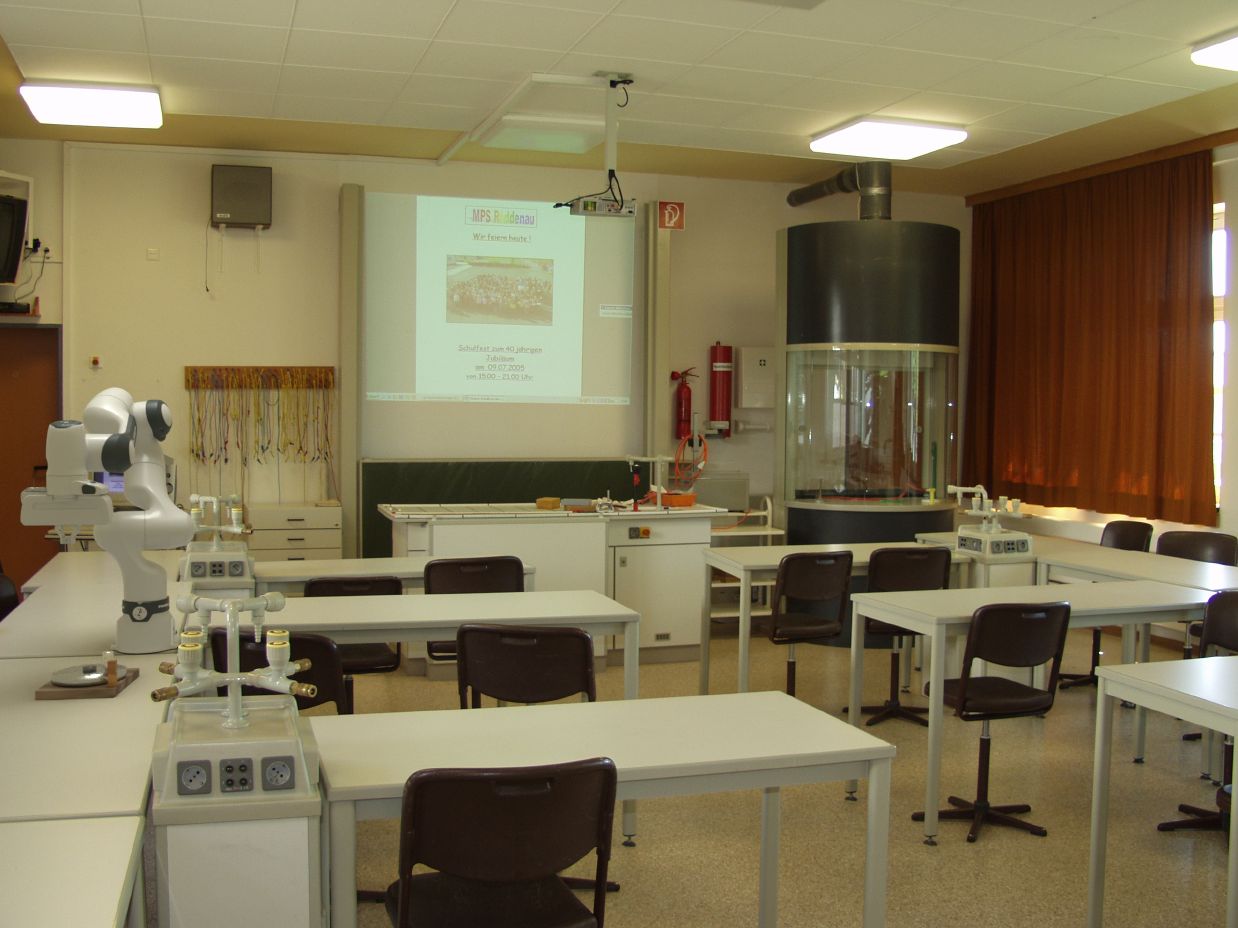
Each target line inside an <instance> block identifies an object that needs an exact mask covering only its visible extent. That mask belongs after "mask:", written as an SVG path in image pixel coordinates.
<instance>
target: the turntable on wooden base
mask: <svg viewBox="0 0 1238 928" xmlns="http://www.w3.org/2000/svg"><path fill="white" fill-rule="evenodd" d="M107 664H108V683H105V684H99V685H91V686H76V687H70V686H59V685H55V684H53V683H52V679H51V680H50V681H48V682H47V683H45V684H44V685H42V686H41V687H40V688H38V689H36V690H35V691H34V700H35V701H41V700H42V701H44V700H66V699H67V700H71V699H72V700H73V699H102V698H115V697H116V696H118V695H119V694H120V693H122V691H123V690H125V689H126V688H127V687H128V686H129V685H131V684H132V683H133V682H134V681H135V680H136V679H137V678H138V677H140V675H141V674H140V667H126V668H127V675H126V676H125V677H124V678H122V679H120V680H117V664H118V660H117V659H114V660H109V661H107Z"/></svg>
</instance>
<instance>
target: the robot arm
mask: <svg viewBox="0 0 1238 928" xmlns="http://www.w3.org/2000/svg"><path fill="white" fill-rule="evenodd" d="M81 419H82V421H79V420H75V419H74V420H73V419H71V420H70V419H65V420H57V421H53V422H51V423H50V424H49V426H48V429H47V432H46V433H47V436H46V444H45V459H46V461H47V470H46V475H45V477H46V478H45V480H46V483H45V485H46V486H39V487H33V486H29V487H26V488H25V489H24V490H22V492H21V493H20V502H21V504H22V505H21V509H20V523H21V524H22V525H23V526H54V531H55V532H56V534H57V535H58V536H59V537H60V539H59V543H60V544H61V545H69V544H71V545H75V544H76V536H77V535H78V534H79V532H80V530H81V526H93V530H92V535H93V539H94V541H95V543H96V544H97V546H98V547H100V548H101V549H102V550H104V551H105V552H107V553H108V554H109V555H111V557H112V558H113V559H114V560H115V561H116V563H117V564H118V566H119V568H120V572H121V575H122V584H123V586H122V587H123V599H122V602H121V612H122V615H121V616H120V617H119V618H118V619H117V621H116V627H115V628H116V631H115V643H114V644H111V645H110V646H109V650H111V651H117V652H119V653H123V654H150V653H157V652H163V651H168V650H173V649H178V648H177V642H178V636H179V634H180V633H178V630H177V629H176V619H175V617H174V616H173V615H172V613H171V611H170V607H171V606H170V603H171V602H170V595H168V573H167V570H166V569H165V568H164V566H163V565H161V564H159V563H157V562H155V561H151V560H150V559H147V558H146V557H144V555H143V553H142V552H144V551H146V550H147V551H149V550H171V549H177V548H181V547H185V546H188V545H189V544H190V543H191V541H192V540H193V538H194V537H195V532H196V526H195V521H194V520H193V517H192V516H191V514H189V513H188V512H186V511H184V510H183V509H181V508H179V507H178V506H177V505H176V504H175V503H174V502H173V501H172V499H171V498H170V496H169V494H168V489H167V475H166V474H167V472H166V461H165V456H164V451H163V447H162V446H161V444H160V442H164V441H165V440H166V438H167V435H168V434H169V433H170V431H171V429H172V426H173V414H172V412H171V410H170V408H169V406H168V405H167V403H165V402H164V401H163V400H162V399H148V400H146V401H145V400H143V401H136V402H135V401H134V398H133V397H132V395H131V394H130V393H129V391H127V390H125V389H123V388H120V387H109V388H106V389H104V390H102V391H100V392H99V393H97V394H96V395H95V396H94V397H93V398H91V400H90V401H89V402H88V403H87V405H86V406H85V407H84V410H83V411H82V418H81ZM86 431H87V432H88V433H86ZM88 472H89V473H90V472H91V473H115V474H123V495H124V498H125V499H126V500H127V501H128V503H130V504H131V505H133V506H135V507H137V508H140V509H142V510H130V511H129V510H128V511H121V510H120V511H115V512H114V506H113V501H112V498H111V496H110V495H108V493H109V490H110V489H109V488H110V487H109V486H108V484H106V483H105V484H104V483H102V482H97V481H95V480H92V479H88V476H89V475H88ZM65 526H71V527H70V529H71V531H72V530H73V531H72V532H71V534H70V535H66V534H65V532H64V531H63V530H65Z"/></svg>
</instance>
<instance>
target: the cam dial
mask: <svg viewBox="0 0 1238 928" xmlns="http://www.w3.org/2000/svg"><path fill="white" fill-rule="evenodd" d="M114 651H115V650H110V649H109V650H104V651H103V650H102V652H101V653H102V654H101V655H102V656H101V657H102V660H101V661H102V663H89V664H88V663H87V664H80V665H74V666H70V667H66V668H65V667H64V668H61V669H58V670H56V671H54V672H52V674H51V680H52V683H53V684H55V685H59V686H70V687H76V686H91V685H99V684H105V683H108V664H107V661H109V660H115V659H114V657H115V655H114V653H115V652H114ZM127 668H128V667H127V666H126V665H122V664H119V663H117V680H120V679H122V678H124V677H125V676H126V675H127Z"/></svg>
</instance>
